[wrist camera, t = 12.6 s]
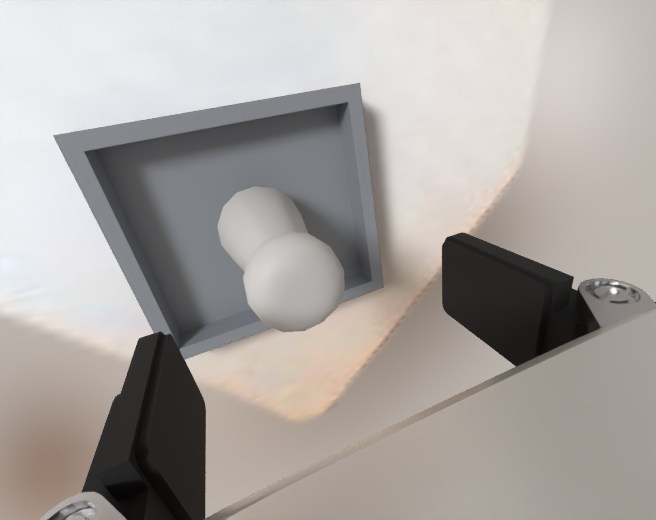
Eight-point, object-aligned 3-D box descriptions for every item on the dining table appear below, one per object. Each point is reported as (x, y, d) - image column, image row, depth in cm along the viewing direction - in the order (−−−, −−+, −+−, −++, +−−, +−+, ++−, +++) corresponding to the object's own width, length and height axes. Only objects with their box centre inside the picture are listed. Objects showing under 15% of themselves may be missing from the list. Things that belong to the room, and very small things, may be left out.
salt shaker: (297, 187, 24) (381, 229, 13) (289, 257, 26) (357, 349, 14) (217, 177, 22) (231, 219, 10) (214, 255, 24) (224, 362, 12)
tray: (342, 89, 24) (359, 82, 21) (368, 274, 30) (383, 287, 28) (74, 136, 19) (53, 135, 16) (173, 341, 26) (170, 364, 23)
